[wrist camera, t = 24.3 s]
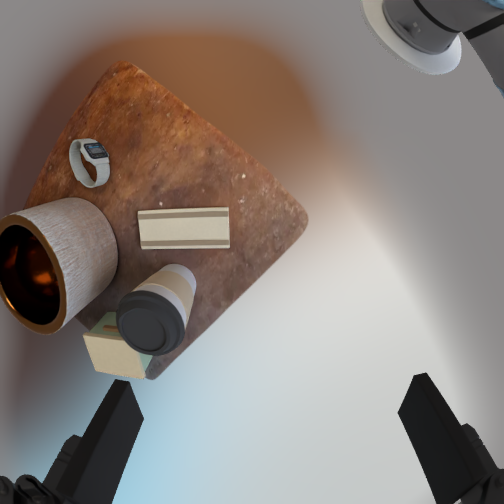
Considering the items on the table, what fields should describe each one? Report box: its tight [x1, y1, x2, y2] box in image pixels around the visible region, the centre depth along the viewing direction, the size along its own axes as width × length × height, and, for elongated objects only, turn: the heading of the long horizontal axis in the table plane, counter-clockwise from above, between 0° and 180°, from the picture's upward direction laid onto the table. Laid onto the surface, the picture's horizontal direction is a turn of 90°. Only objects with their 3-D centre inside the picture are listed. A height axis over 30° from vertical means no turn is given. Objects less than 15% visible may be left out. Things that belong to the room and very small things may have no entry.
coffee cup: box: [116, 264, 196, 356], centre depth 36 cm, size 9×9×15 cm
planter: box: [0, 198, 118, 335], centre depth 35 cm, size 18×18×16 cm
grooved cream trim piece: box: [138, 207, 230, 249], centre depth 41 cm, size 14×6×1 cm, turn 91°
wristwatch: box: [69, 138, 110, 188], centre depth 36 cm, size 9×6×5 cm
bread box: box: [83, 312, 153, 379], centre depth 42 cm, size 10×8×9 cm
